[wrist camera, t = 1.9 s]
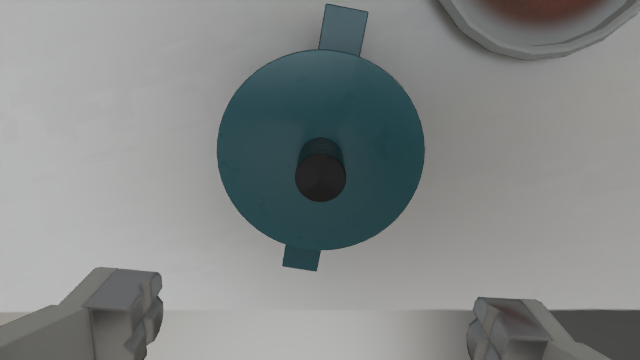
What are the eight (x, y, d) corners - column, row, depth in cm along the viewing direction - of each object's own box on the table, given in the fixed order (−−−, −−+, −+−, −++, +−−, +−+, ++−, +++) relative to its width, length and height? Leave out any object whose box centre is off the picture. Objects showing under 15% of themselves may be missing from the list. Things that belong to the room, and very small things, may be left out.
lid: (443, 70, 23) (473, 77, 18) (394, 254, 27) (408, 297, 22) (232, 30, 22) (209, 28, 18) (213, 225, 26) (190, 264, 22)
